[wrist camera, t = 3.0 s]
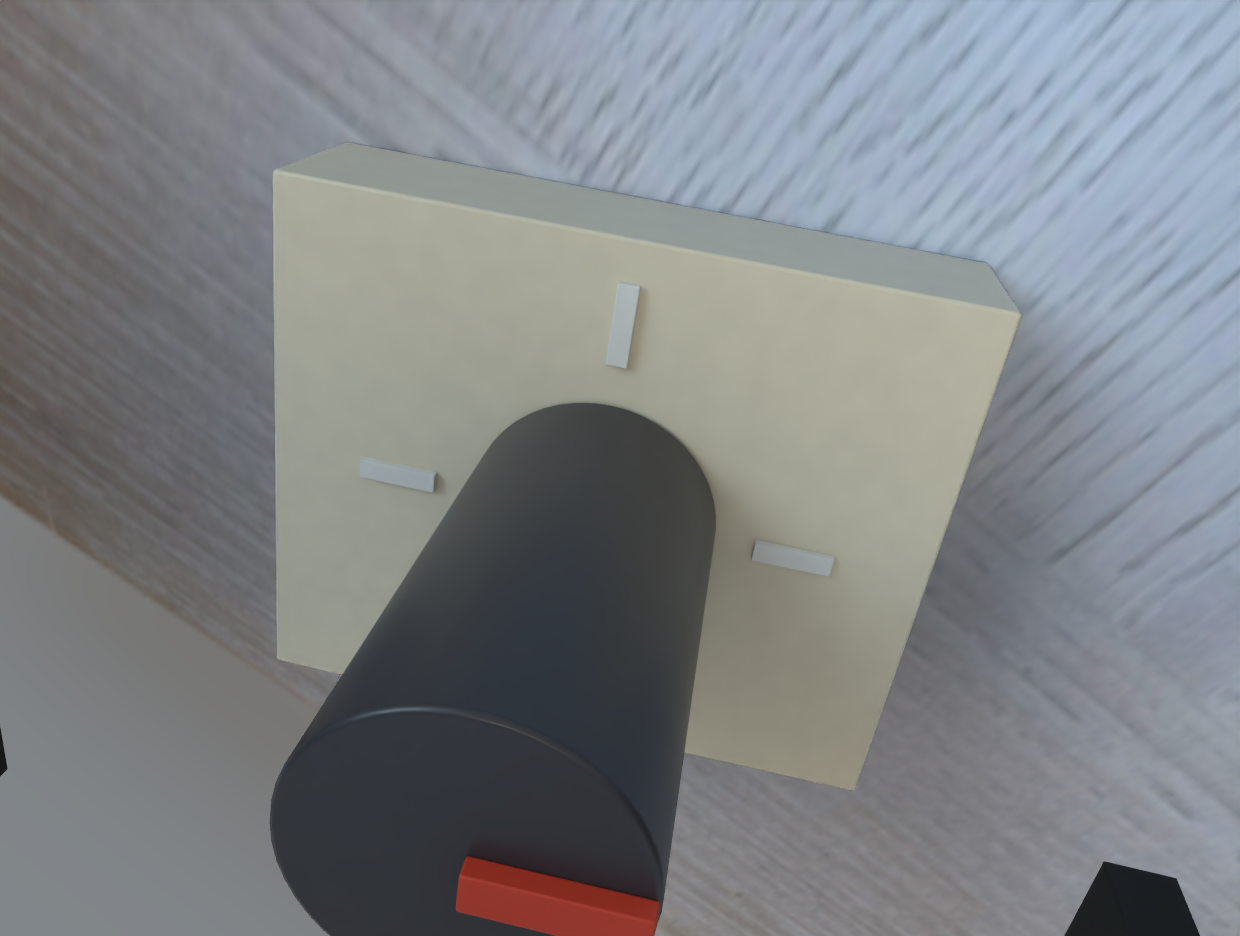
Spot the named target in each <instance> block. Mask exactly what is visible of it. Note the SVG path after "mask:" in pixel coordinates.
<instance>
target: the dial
mask: <svg viewBox="0 0 1240 936" xmlns="http://www.w3.org/2000/svg"><path fill="white" fill-rule="evenodd" d="M715 532H716V513H715V506H714V500H713V497H712V493H711V490H710V487H709V484H708V482H707V480H706V478H705V476H704V473H703V471H702V470H701V468H700V467H699V465H698V464H697V462H696V460H695V459H694V458H693V456H692V455H691V454H690V453H689V452H688V450H687V449H686V448H685V447H684V446H683V445H682V444H681V443H680V442H679V441H678V440H677V439H676V438H675V437H674V436H672V435H671V434H670V433H669V432H667V431H666V430H664V429H663V428H662V427H660V426H659V425H657V424H656V423H654V422H652V421H650V420H648V419H647V418H645V417H643V416H641V415H638V414H636V413H633V412H631V411H628V410H625V409H622V408H618V407H614V406H610V405H603V404H596V403H569V404H560V405H556V406H551V407H547V408H543V409H541V410H538V411H536V412H533V413H530V414H528V415H527V416H525V417H523V418H521V419H519V420H517V421H516V422H514V423H513V424H512V425H510V426H509V427H508V428H506V429H505V430H504V431H503V432H502V433H501V434H500V435H499V436H498V437H497V438H496V439H495V440H494V441H493V442H492V444H491V445H490V447H489V448H488V449H487V451H486V452H485V454H484V455H483V457H482V458H481V460H480V461H479V463H478V465H477V466H476V468H475V469H474V471H473V472H472V474H471V475H470V477H469V479H468V480H467V482H466V483H465V485H464V486H463V488H462V489H461V491H460V493H459V494H458V496H457V497H456V499H455V500H454V502H453V503H452V505H451V507H450V508H449V510H448V511H447V513H446V514H445V516H444V517H443V519H442V520H441V522H440V524H439V525H438V527H437V528H436V530H435V531H434V533H433V534H432V536H431V538H430V539H429V541H428V542H427V544H426V545H425V547H424V548H423V550H422V552H421V553H420V555H419V556H418V558H417V559H416V561H415V562H414V564H413V566H412V567H411V569H410V570H409V572H408V573H407V575H406V576H405V578H404V580H403V581H402V583H401V584H400V586H399V587H398V589H397V590H396V592H395V594H394V595H393V597H392V598H391V600H390V601H389V603H388V604H387V606H386V607H385V609H384V611H383V612H382V614H381V615H380V617H379V618H378V620H377V621H376V623H375V625H374V626H373V628H372V629H371V631H370V632H369V634H368V635H367V637H366V639H365V640H364V642H363V643H362V645H361V646H360V648H359V649H358V651H357V653H356V654H355V656H354V657H353V659H352V660H351V662H350V663H349V665H348V667H347V668H346V670H345V671H344V673H343V674H342V676H341V677H340V679H339V681H338V682H337V684H336V685H335V687H334V688H333V690H332V691H331V693H330V694H329V696H328V698H327V699H326V701H325V702H324V704H323V705H322V707H321V708H320V710H319V712H318V713H317V715H316V716H315V718H314V720H313V721H312V723H311V724H310V726H309V727H308V729H307V730H306V732H305V733H304V735H303V736H302V738H301V740H300V741H299V743H298V744H297V746H296V747H295V749H294V750H293V752H292V754H291V755H290V757H289V758H288V760H287V761H286V763H285V764H284V766H283V768H282V771H281V773H280V775H279V777H278V779H277V781H276V784H275V788H274V792H273V796H272V800H271V813H270V831H271V841H272V845H273V848H274V852H275V856H276V860H277V863H278V865H279V867H280V869H281V872H282V874H283V877H284V879H285V881H286V882H287V884H288V886H289V887H290V889H291V891H292V893H293V894H294V896H295V897H296V899H297V900H298V901H299V903H300V904H301V905H302V907H303V908H304V909H305V911H306V912H307V913H308V914H309V915H310V916H311V918H312V919H313V920H314V921H315V922H316V923H317V924H318V925H319V926H320V927H321V928H322V929H323V930H324V931H325V932H326V933H327V934H329V935H330V936H654V935H655V931H656V927H657V923H658V920H659V917H660V915H661V912H662V906H663V899H664V893H665V885H666V878H667V871H668V864H669V857H670V850H671V843H672V836H673V829H674V822H675V815H676V808H677V801H678V794H679V787H680V779H681V772H682V765H683V758H684V751H685V744H686V737H687V730H688V723H689V716H690V709H691V702H692V695H693V688H694V680H695V673H696V666H697V659H698V652H699V645H700V638H701V631H702V624H703V617H704V610H705V603H706V596H707V589H708V582H709V574H710V567H711V560H712V553H713V546H714V539H715Z"/></svg>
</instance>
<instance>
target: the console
mask: <svg viewBox="0 0 1240 936" xmlns="http://www.w3.org/2000/svg"><path fill="white" fill-rule="evenodd" d="M273 257H274V371H275V485H276V600H277V659H278V660H280V661H284V662H288V663H293V664H297V665H302V666H306V667H310V668H315V669H319V670H324V671H328V672H332V673H337V674H341V675H342V674H343V673H344V671H345V670H346V668H347V667H348V665H349V663H350V662H351V660H352V659H353V657H354V656H355V654H356V653H357V651H358V649H359V648H360V646H361V645H362V643H363V642H364V640H365V639H366V637H367V635H368V634H369V632H370V631H371V629H372V628H373V626H374V625H375V623H376V621H377V620H378V618H379V617H380V615H381V614H382V612H383V611H384V609H385V607H386V606H387V604H388V603H389V601H390V600H391V598H392V597H393V595H394V594H395V592H396V590H397V589H398V587H399V586H400V584H401V583H402V581H403V580H404V578H405V576H406V575H407V573H408V572H409V570H410V569H411V567H412V566H413V564H414V562H415V561H416V559H417V558H418V556H419V555H420V553H421V552H422V550H423V548H424V547H425V545H426V544H427V542H428V541H429V539H430V538H431V536H432V534H433V533H434V531H435V530H436V528H437V527H438V525H439V524H440V522H441V520H442V519H443V517H444V516H445V514H446V513H447V511H448V510H449V508H450V507H451V505H452V503H453V502H454V500H455V499H456V497H457V496H458V494H459V493H460V491H461V489H462V488H463V486H464V485H465V483H466V482H467V480H468V479H469V477H470V475H471V474H472V472H473V471H474V469H475V468H476V466H477V465H478V463H479V461H480V460H481V458H482V457H483V455H484V454H485V452H486V451H487V449H488V448H489V447H490V445H491V444H492V442H493V441H494V440H495V439H496V438H497V437H498V436H499V435H500V434H501V433H502V432H503V431H504V430H505V429H506V428H508V427H509V426H510V425H512V424H513V423H514V422H516V421H517V420H519V419H521V418H523V417H525V416H527V415H528V414H530V413H533V412H536V411H538V410H541V409H543V408H547V407H551V406H556V405H560V404H569V403H596V404H603V405H610V406H614V407H618V408H622V409H625V410H628V411H631V412H633V413H636V414H638V415H641V416H643V417H645V418H647V419H648V420H650V421H652V422H654V423H656V424H657V425H659V426H660V427H662V428H663V429H664V430H666V431H667V432H669V433H670V434H671V435H672V436H674V437H675V438H676V439H677V440H678V441H679V442H680V443H681V444H682V445H683V446H684V447H685V448H686V449H687V450H688V452H689V453H690V454H691V455H692V456H693V458H694V459H695V460H696V462H697V464H698V465H699V467H700V468H701V470H702V471H703V473H704V476H705V478H706V480H707V482H708V484H709V487H710V490H711V493H712V497H713V500H714V506H715V513H716V532H715V539H714V546H713V553H712V560H711V567H710V574H709V582H708V589H707V596H706V603H705V610H704V617H703V624H702V631H701V638H700V645H699V652H698V659H697V666H696V673H695V680H694V688H693V695H692V702H691V709H690V716H689V723H688V730H687V737H686V744H685V751H684V753H688V754H693V755H697V756H702V757H706V758H710V759H715V760H719V761H724V762H728V763H732V764H737V765H741V766H745V767H750V768H754V769H759V770H763V771H767V772H772V773H776V774H781V775H785V776H789V777H794V778H798V779H803V780H807V781H811V782H816V783H820V784H825V785H829V786H833V787H838V788H842V789H847V790H851V791H852V790H854V789H855V787H856V785H857V782H858V779H859V776H860V773H861V770H862V768H863V765H864V762H865V759H866V756H867V753H868V751H869V748H870V745H871V742H872V739H873V736H874V734H875V731H876V728H877V725H878V722H879V719H880V717H881V714H882V711H883V708H884V705H885V702H886V700H887V697H888V694H889V691H890V688H891V685H892V683H893V680H894V677H895V674H896V671H897V668H898V666H899V663H900V660H901V657H902V654H903V651H904V649H905V646H906V643H907V640H908V637H909V634H910V632H911V629H912V626H913V623H914V620H915V617H916V615H917V612H918V609H919V606H920V603H921V600H922V598H923V595H924V592H925V589H926V586H927V584H928V581H929V578H930V575H931V572H932V569H933V567H934V564H935V561H936V558H937V555H938V552H939V550H940V547H941V544H942V541H943V538H944V535H945V533H946V530H947V527H948V524H949V521H950V518H951V516H952V513H953V510H954V507H955V504H956V501H957V499H958V496H959V493H960V490H961V487H962V484H963V482H964V479H965V476H966V473H967V470H968V467H969V465H970V462H971V459H972V456H973V453H974V450H975V448H976V445H977V442H978V439H979V436H980V433H981V431H982V428H983V425H984V422H985V419H986V416H987V414H988V411H989V408H990V405H991V402H992V399H993V397H994V394H995V391H996V388H997V385H998V382H999V380H1000V377H1001V374H1002V371H1003V368H1004V365H1005V363H1006V360H1007V357H1008V354H1009V351H1010V348H1011V346H1012V343H1013V340H1014V337H1015V334H1016V331H1017V329H1018V326H1019V323H1020V320H1021V317H1022V314H1021V312H1020V310H1019V309H1018V307H1017V306H1016V304H1015V303H1014V301H1013V300H1012V298H1011V297H1010V295H1009V294H1008V292H1007V291H1006V289H1005V288H1004V286H1003V285H1002V283H1001V282H1000V280H999V279H998V277H997V276H996V274H995V273H994V271H993V270H992V268H991V267H990V265H989V264H987V263H983V262H978V261H973V260H967V259H962V258H957V257H952V256H946V255H941V254H936V253H930V252H925V251H920V250H914V249H909V248H904V247H899V246H893V245H888V244H883V243H877V242H872V241H867V240H862V239H856V238H851V237H846V236H840V235H835V234H830V233H825V232H819V231H814V230H809V229H803V228H798V227H793V226H788V225H782V224H777V223H772V222H766V221H761V220H756V219H750V218H745V217H740V216H735V215H729V214H724V213H719V212H713V211H708V210H703V209H698V208H692V207H687V206H682V205H676V204H671V203H666V202H661V201H655V200H650V199H645V198H639V197H634V196H629V195H624V194H618V193H613V192H608V191H602V190H597V189H592V188H587V187H581V186H576V185H571V184H565V183H560V182H555V181H549V180H544V179H539V178H534V177H528V176H523V175H518V174H512V173H507V172H502V171H497V170H491V169H486V168H481V167H475V166H470V165H465V164H460V163H454V162H449V161H444V160H438V159H433V158H428V157H423V156H417V155H412V154H407V153H401V152H396V151H391V150H386V149H380V148H375V147H370V146H364V145H359V144H354V143H348V142H347V143H343V144H341V145H338V146H335V147H333V148H330V149H328V150H325V151H322V152H320V153H317V154H314V155H312V156H309V157H307V158H304V159H301V160H299V161H296V162H293V163H291V164H288V165H286V166H283V167H280V168H278V169H275V170H274V171H273Z"/></svg>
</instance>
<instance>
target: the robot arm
mask: <svg viewBox="0 0 1240 936" xmlns="http://www.w3.org/2000/svg"><path fill="white" fill-rule="evenodd" d="M6 770H7V764H6V758H5V752H4V746H3V740H2V735H1V729H0V776H1V775H2V774H3V773H4V772H5V771H6ZM1065 936H1200V935H1199V932H1198V930H1197V927H1196V925H1195V922H1194V920H1193V918H1192V915H1191V913H1190V910H1189V908H1188V905H1187V903H1186V901H1185V898H1184V896H1183V893H1182V891H1181V888H1180V886H1179V884H1178V881H1177V879H1176V878H1172V877H1168V876H1164V875H1160V874H1155V873H1151V872H1147V871H1143V870H1138V869H1134V868H1130V867H1126V866H1121V865H1117V864H1113V863H1109V862H1105V861H1104V862H1103V864H1102V866H1101V868H1100V870H1099V872H1098V874H1097V876H1096V877H1095V879H1094V881H1093V883H1092V885H1091V887H1090V889H1089V891H1088V892H1087V894H1086V896H1085V898H1084V900H1083V902H1082V904H1081V906H1080V908H1079V909H1078V911H1077V913H1076V915H1075V917H1074V919H1073V921H1072V923H1071V925H1070V926H1069V928H1068V930H1067V932H1066V934H1065Z"/></svg>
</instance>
